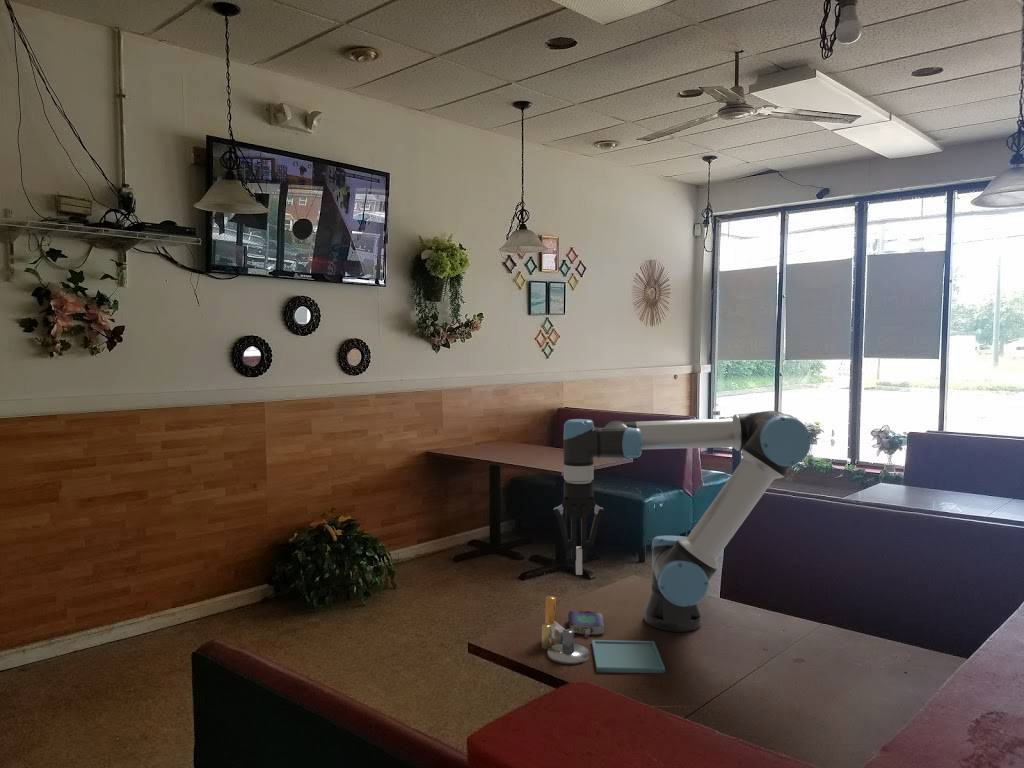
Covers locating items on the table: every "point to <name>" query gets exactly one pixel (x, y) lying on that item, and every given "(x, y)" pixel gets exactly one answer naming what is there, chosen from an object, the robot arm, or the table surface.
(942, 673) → the table surface
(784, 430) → the robot arm
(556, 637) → the crank
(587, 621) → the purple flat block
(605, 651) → the tray
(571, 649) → the crank base
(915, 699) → the table surface
